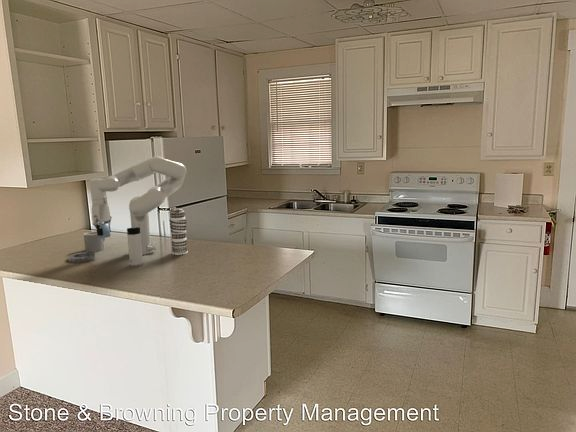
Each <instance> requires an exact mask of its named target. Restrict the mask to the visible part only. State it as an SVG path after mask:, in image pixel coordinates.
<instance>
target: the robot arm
mask: <svg viewBox="0 0 576 432" xmlns="http://www.w3.org/2000/svg"><path fill="white" fill-rule="evenodd" d="M187 172H188V171H187V168H186V166H185V164H183V163H181V162H177V161H172V160H170V159H166V158H164V157H162V156H159V155H155V156H152V157H150V158H147V159H145V160H143V161H141V162H139V163H137V164H134V165H131V166H130V167H128V168H126V169H124V170H122V171H119V172H117V173H114V174H112V175H110V176H108V177H107V178H92V179H90V180H89V181H88V184H89V191H90V199H91V219H92V225H93V226H94V227H95V230H96V231H97V235H98V236H103V229H102V228H101V227H102V223H109V229H110V233H111V221H112V217H113V216H111V212H110V207H109V204H108V199H107V198H108V197H107V196H108V195H107V192H116V191H118V190H119V189H120V188H121V187H123V186H125V185H127V184H131V183H133V182H137V181H141V180H143V179H145V178H147V177H151V176H152V175H154V174H160V175H163V176H166V177H167V178H166V179H164V180H163V181H161V182H159V183H157V184H156V185H154V186H151V188H149V189H148V190H147V192H146V193H144V194H142V195H141V196H139V195H138V196H135V197H132V198H131V199H130V202H129V204H128V209H129V215H130V216H129V217H130V228H136V227H140V234H141V246H142V256H144V255H149V254H153V253H154V251H157V249H158V248H157V245H153V243H151V232H150V219H149V218H150V217H149V216H150V215H149V213H150V212H152V211H153V210H155V209H157V208H158V207H160V206H161V205H162V204H163V203H164V202H165V200H166V199H167V198H168V197H170V196H171V195H172V194H174V193H175V192H177V191H178V190H179V189H180V188H181V187H182V186H183V184H184V181H185V177H186V176H187ZM98 224H100V225H98Z"/></svg>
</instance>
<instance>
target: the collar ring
mask: <svg viewBox="0 0 576 432" xmlns="http://www.w3.org/2000/svg"><path fill="white" fill-rule="evenodd" d="M95 253H96V252H86V251H83V252H76V253H72V254H70V255H68V257H67V259H68V260H69V261H68V262H69V263H86V262H89V261H93V260H94V259H96V254H95Z"/></svg>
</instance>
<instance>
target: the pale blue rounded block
mask: <svg viewBox="0 0 576 432" xmlns="http://www.w3.org/2000/svg"><path fill="white" fill-rule="evenodd" d="M98 225H100V224H98ZM101 228H102V229H103V236H99V238H105V239H106V238H110V237H111V232H110V230H111V228H110V229H109V223H104V222H103V223H102V227H101Z"/></svg>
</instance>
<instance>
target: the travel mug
mask: <svg viewBox="0 0 576 432" xmlns="http://www.w3.org/2000/svg"><path fill="white" fill-rule="evenodd" d="M126 233H127V245H128V247H127V248H128V257H129V258H128V259H129V266H130V267H131V268H137V267H142V266H143V265H144V259H143V255H142V246H141V234H140V227H136V228H131V227H128V228H126Z"/></svg>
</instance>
